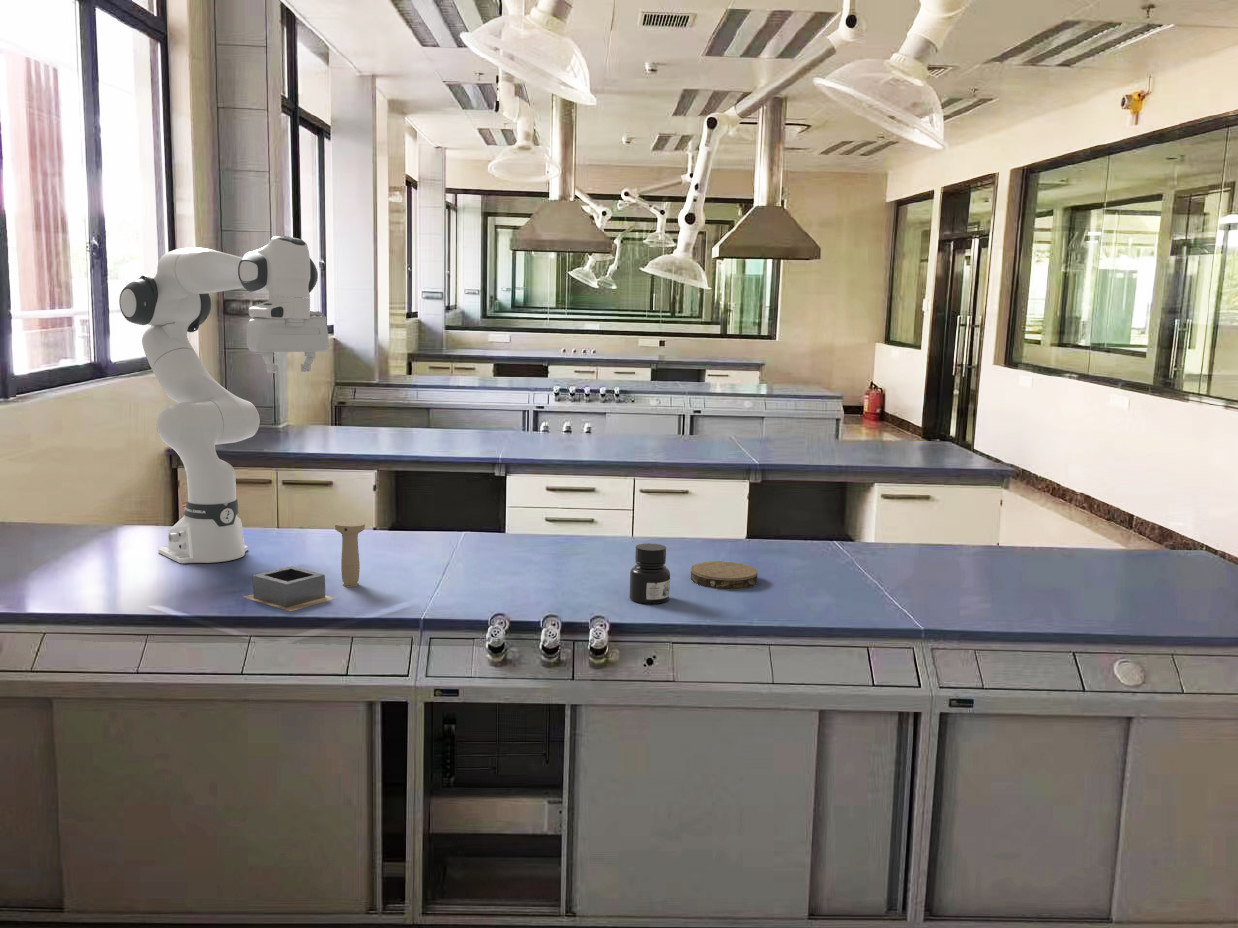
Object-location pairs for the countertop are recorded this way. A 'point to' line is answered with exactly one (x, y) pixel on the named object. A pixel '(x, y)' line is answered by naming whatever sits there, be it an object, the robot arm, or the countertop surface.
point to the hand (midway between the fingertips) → (289, 372)
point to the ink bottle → (650, 575)
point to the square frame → (289, 586)
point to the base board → (292, 608)
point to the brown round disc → (724, 575)
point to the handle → (350, 551)
